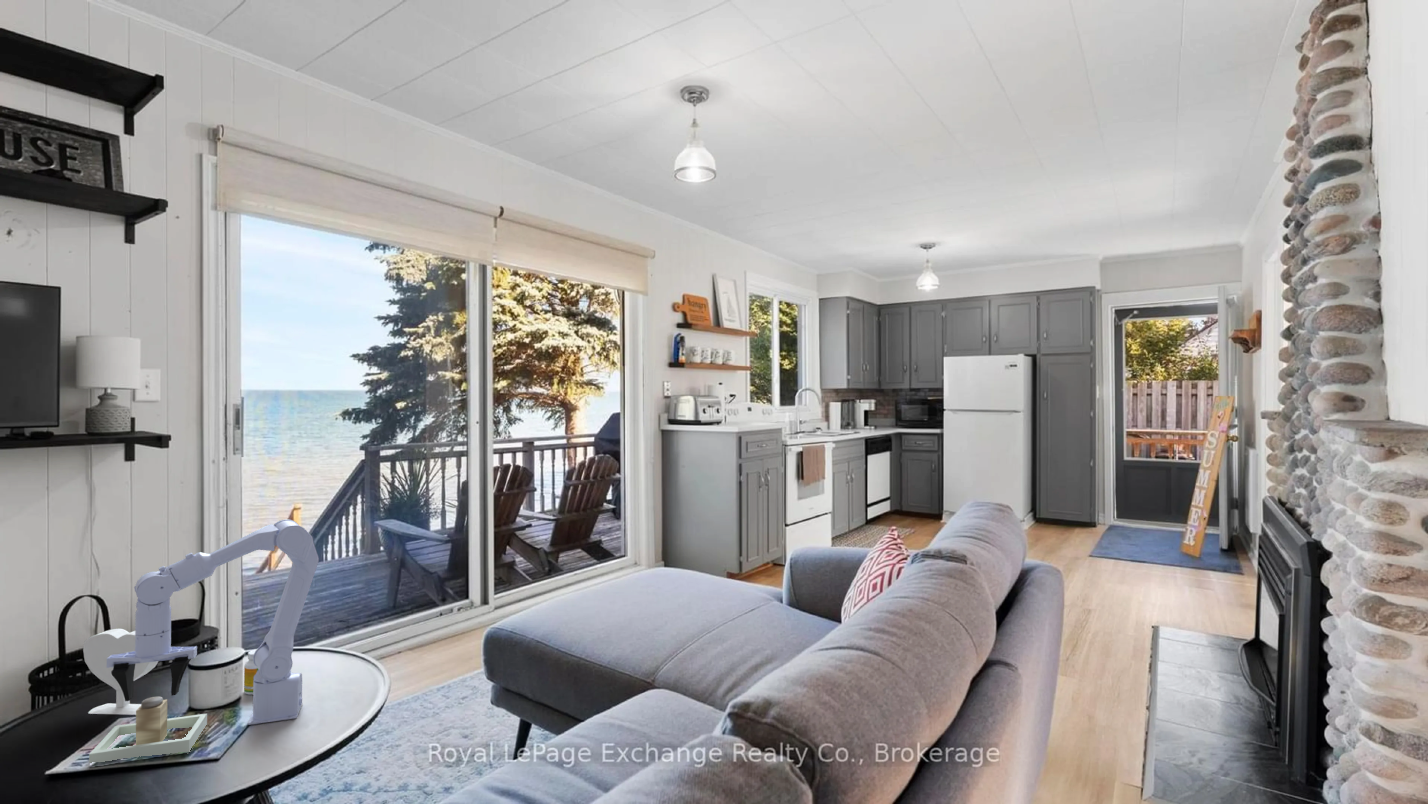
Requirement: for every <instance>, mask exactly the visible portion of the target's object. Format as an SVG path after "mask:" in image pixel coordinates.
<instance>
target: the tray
mask: <svg viewBox="0 0 1428 804" xmlns="http://www.w3.org/2000/svg"><path fill="white" fill-rule="evenodd" d="M206 725H207V726H208V713H201V714H193V715H185V716H179V717H171V718H170V717H169V718H167V729H172V728H189V727H192V729H191V730H190V731H188V734H187V735H186V734H185V735H186V737H184V738H182V739H175V740H168V741H161V742H154V743H147V744H140V745H133V746H126V747H119V748H113V749H107V748H108V747H109V746H110V745H111V744H112V743H113V742H114V741H115V739H116V738H117V737H118V736H119V735H125V734H131V733H136V722H133V723H132V722H131V723H125V724H119V725H115V726H113V728H112V729H110V731H109V732H108V733H107V734H106V735H105V736H104V738H103V739H102V740H101V741H100V742H99V743H98V744H97V745H96V746H95V747H94V749H92V750H91V751H90V753H89V754H88V764H89V763H92V762H105V761H112V760H117V759H122V758H131V757H139V756H140V757H141V756H152V755H162V754H170V753H178V752H190V753H191V751H192V750H191V748H192V746H193V745H194V744H195V742H196V740H197V739H198V737H199V735H200V734H201V732H202V731H203V729H204V728H205V726H206ZM205 729H206V728H205ZM203 732H204V731H203ZM201 735H202V734H201ZM198 740H199V739H198ZM196 743H197V742H196ZM195 745H196V744H195ZM195 745H194V746H195ZM192 749H193V748H192ZM190 750H191V751H190Z"/></svg>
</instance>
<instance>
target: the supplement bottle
mask: <svg viewBox="0 0 1428 804" xmlns="http://www.w3.org/2000/svg"><path fill="white" fill-rule="evenodd" d="M257 649H258V648H257ZM257 649H252V650H250V651H248V652H247V661H245V663H244V669H243V670H244V671H243V672H244V675H243V694H245V695H253V680H254V676H255V674H256V673H257V671H258V668H257V666H256V665H255V664H254V661H253V656H254V653H255V651H256V650H257Z"/></svg>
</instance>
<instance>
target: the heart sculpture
mask: <svg viewBox="0 0 1428 804" xmlns="http://www.w3.org/2000/svg"><path fill="white" fill-rule="evenodd" d="M82 651H83V658H84V662H85V664H86V665H87V667H88V670H89V671H90V672H91V673H92V674H93V675H95V677H97V678H98V679H99V680H100V681H102V682H104V683H105V684H107V685H108V686H110V687H112V689H114V690H115V691H116V693H115V695H116V697H115V699H116V702H115V703H111V702H110V703H108V702H107V703H105V704H102V705H98V706H96V707H93V708H92V709H90V710H89V711H88V712H87V713H88V714H90V715H91V714H92V715H93V714H97V715H129V716H131V715H133V716H134V715H135V716H136V710H137V709H138V708H139V707H140V706H141V703H131V700H130V701H125V698H124V694H123V692H122V689H121V687H120V685H119V683H118V682H117V681H116V679H115V678H114V677H113V676H112V674H111V671H112V670H113V668H114V667H109V668H107V658H108V657H109V656H110V655H116V654H122V653H128V652H133V651H135V630H133V631H130V632H129V631H128V630H126V629H123V628H113V629H108V630H105V631H103V632H100V633H97V634H94V635H92V636H89V637H88V638H86V639H85V640H84V642H83V647H82ZM159 662H160V661H155V662H146V663H136V664H135V670H134V679H133V682H135V681H136V680H138V679H140V678H142V677H144V675H146V674H148V673H149V672H150V671H152V670H153V669H154V668H156V666H157V664H158V663H159Z"/></svg>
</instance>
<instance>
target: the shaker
mask: <svg viewBox="0 0 1428 804" xmlns="http://www.w3.org/2000/svg"><path fill="white" fill-rule="evenodd" d="M140 704H141V706H140V707H139V708H138V709H137V710H136V715H135V723H136V745H140V744H147V743H154V742H161V741H163V740H164V739H165V737H166V736H167V719H168V699H164V698H163V697H162V696H152V697H147V698H145V699H143V700H141V703H140Z"/></svg>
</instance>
